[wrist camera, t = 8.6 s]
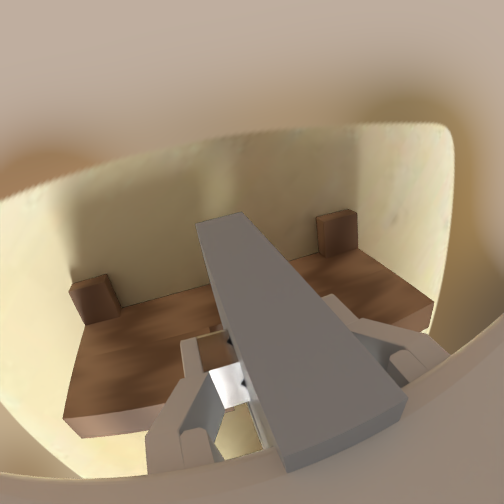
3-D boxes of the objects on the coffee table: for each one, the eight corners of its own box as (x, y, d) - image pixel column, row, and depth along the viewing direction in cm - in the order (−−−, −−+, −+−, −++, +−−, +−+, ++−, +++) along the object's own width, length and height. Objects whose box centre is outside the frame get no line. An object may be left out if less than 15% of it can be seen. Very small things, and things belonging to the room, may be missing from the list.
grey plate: (195, 223, 12) (282, 456, 3) (241, 211, 12) (408, 396, 4) (255, 429, 19) (304, 544, 10) (281, 421, 19) (335, 532, 10)
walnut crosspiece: (348, 208, 23) (441, 257, 14) (350, 292, 26) (420, 358, 17) (72, 284, 19) (30, 380, 10) (113, 362, 22) (107, 461, 13)
